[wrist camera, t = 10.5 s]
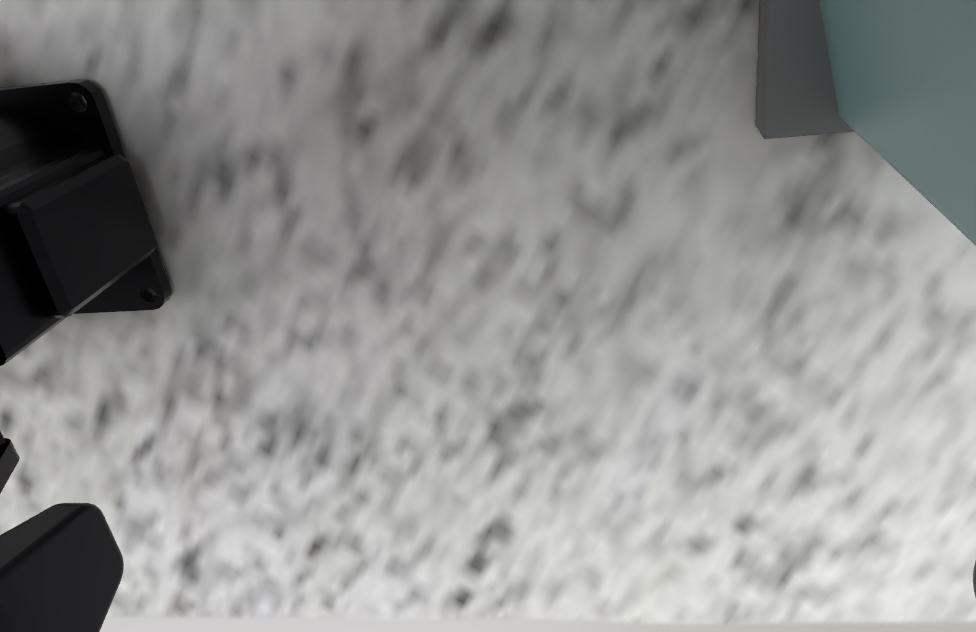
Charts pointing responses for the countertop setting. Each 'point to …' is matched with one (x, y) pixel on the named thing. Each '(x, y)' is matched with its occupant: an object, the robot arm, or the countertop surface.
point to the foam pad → (794, 72)
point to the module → (912, 91)
